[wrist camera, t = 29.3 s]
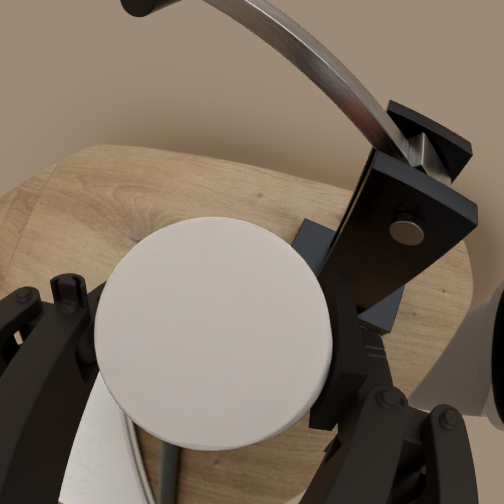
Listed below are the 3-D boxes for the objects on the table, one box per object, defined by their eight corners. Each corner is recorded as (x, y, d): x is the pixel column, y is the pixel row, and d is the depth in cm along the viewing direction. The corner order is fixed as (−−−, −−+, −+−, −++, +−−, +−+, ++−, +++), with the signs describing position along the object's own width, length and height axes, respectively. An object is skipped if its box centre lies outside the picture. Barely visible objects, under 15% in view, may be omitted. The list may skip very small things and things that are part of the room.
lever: (113, 17, 5) (128, -38, 3) (213, -21, 7) (236, -55, 5) (397, 258, 10) (446, 253, 8) (414, 166, 12) (450, 154, 10)
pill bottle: (312, 322, 15) (396, 231, 5) (279, 422, 13) (312, 520, 3) (212, 290, 16) (141, 165, 6) (176, 385, 14) (38, 394, 4)
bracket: (273, 285, 22) (285, 145, 8) (303, 226, 24) (334, 73, 10) (383, 335, 20) (523, 270, 6) (402, 272, 22) (509, 165, 8)
